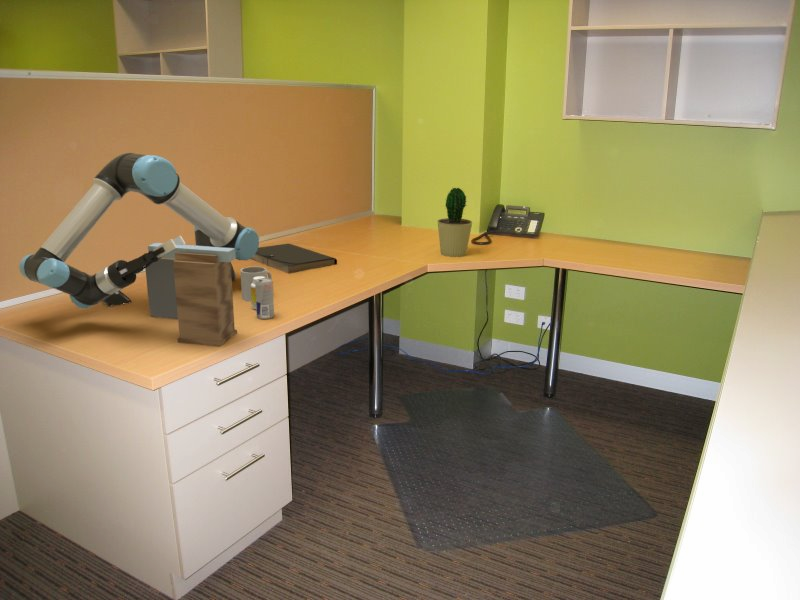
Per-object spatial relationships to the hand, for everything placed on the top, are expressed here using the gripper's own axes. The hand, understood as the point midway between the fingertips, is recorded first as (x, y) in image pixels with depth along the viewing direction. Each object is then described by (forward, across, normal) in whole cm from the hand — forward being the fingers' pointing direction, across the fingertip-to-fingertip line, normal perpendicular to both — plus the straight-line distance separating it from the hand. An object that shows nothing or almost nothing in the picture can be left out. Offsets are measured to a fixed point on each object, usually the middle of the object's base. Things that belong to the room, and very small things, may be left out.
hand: (178, 241), depth 181 cm
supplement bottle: (-5, -29, -30) cm, 42 cm away
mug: (-9, -40, -27) cm, 49 cm away
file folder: (-15, -90, -24) cm, 94 cm away
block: (-25, -17, -18) cm, 35 cm away
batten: (+1, 0, -6) cm, 6 cm away
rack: (-8, 0, -28) cm, 29 cm away
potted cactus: (+41, -121, -56) cm, 140 cm away
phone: (-49, -25, -4) cm, 55 cm away
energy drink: (0, -21, -32) cm, 38 cm away
